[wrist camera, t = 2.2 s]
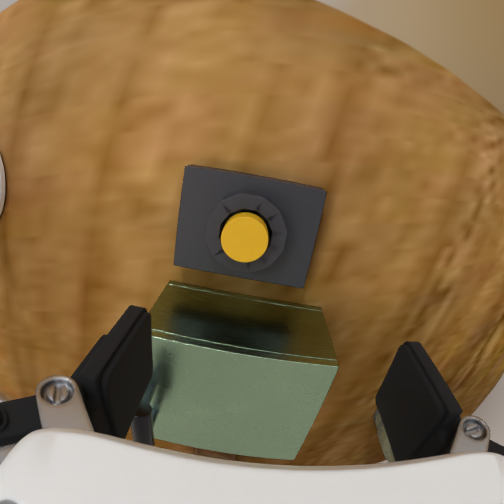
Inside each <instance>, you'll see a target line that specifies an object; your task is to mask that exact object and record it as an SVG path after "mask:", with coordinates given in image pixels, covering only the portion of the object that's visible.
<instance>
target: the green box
mask: <svg viewBox="0 0 504 504" xmlns="http://www.w3.org/2000/svg"><path fill="white" fill-rule="evenodd" d="M149 313H150V314H151V329H152V330H154V331H159V332H163V333H167V334H172V335H176V336H181V337H186V338H190V339H195V340H200V341H205V342H210V343H216V344H221V345H227V346H232V347H238V348H244V349H250V350H256V351H263V352H269V353H276V354H283V355H291V356H298V357H307V358H315V359H324V360H334V361H337V358H336V355H335V352H334V348H333V345H332V342H331V338H330V335H329V332H328V329H327V326H326V322H325V319H324V316H323V313H322V310H321V307H316V306H310V305H303V304H297V303H291V302H284V301H278V300H272V299H266V298H261V297H255V296H249V295H243V294H238V293H232V292H227V291H221V290H216V289H211V288H205V287H200V286H195V285H190V284H185V283H180V282H175V281H169V282H168V284H167V286H166V287H165V289H164V290H163V292H162V293H161V295H160V296H159V298H158V299H157V301H156V302H155V304H154V305H153V307H152V308H151V310H150V312H149Z"/></svg>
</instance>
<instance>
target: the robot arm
mask: <svg viewBox="0 0 504 504" xmlns="http://www.w3.org/2000/svg"><path fill="white" fill-rule="evenodd" d="M5 186H6V184H5V172H4V166H3V162H2V159H1V156H0V215H1V212H2V209H3V205H4V199H5ZM152 375H153V355H152V329H151V314H150V313H147V310H146V308H142V307H138V306H133V305H130V306H129V307H128V309H127V310H126V311H125V313H124V314H123V315H122V316H121V318H120V319H119V320H118V322H117V323H116V324H115V325H114V327H113V328H112V329H111V331H110V332H109V333H108V335H103V336H102V337H101V338H100V339H99V340H98V342H97V343H96V344H95V345H94V347H93V348H92V349H91V351H90V352H89V353H88V355H87V356H86V357H85V359H84V360H83V361H82V363H81V364H80V365H79V367H78V368H77V369H76V371H75V372H74V373H73V375H72V376H71V378H69V377H67V376H63V375H53V376H50V377H47V378H45V379H43V380H42V381H41V382H40V383H39V384H38V386H37V388H36V395H35V396H30V397H26V398H21V399H16V400H11V401H6V402H1V403H0V504H504V446H501V445H499V444H497V443H495V442H493V441H491V440H490V429H489V427H488V425H487V424H486V423H485V422H484V421H483V420H482V419H480V418H479V417H476V416H471V415H468V416H465V417H463V418H462V419H461V418H460V414H461V413H462V409H461V407H460V405H459V404H458V402H457V400H456V399H455V397H454V395H453V394H452V392H451V390H450V389H449V387H448V386H447V384H446V382H445V381H444V379H443V377H442V376H441V374H440V373H439V371H438V370H437V368H436V366H435V365H434V363H433V362H432V360H431V359H430V357H429V356H428V354H427V353H426V351H425V349H424V348H423V346H422V345H421V344H420V343H419V342H409V341H406V342H405V343H404V344H403V345H401V346H400V347H399V348H398V351H397V353H396V355H395V357H394V360H393V362H392V364H391V366H390V368H389V370H388V373H387V375H386V377H385V379H384V381H383V383H382V385H381V387H380V389H379V391H378V393H377V395H376V405H377V408H378V411H379V414H380V416H381V419H382V422H383V425H384V428H385V431H386V434H387V437H388V440H389V443H390V446H391V449H392V453H393V456H394V459H395V462H389V463H378V464H365V465H346V466H292V465H273V464H260V463H249V462H240V461H232V460H224V459H217V458H211V457H205V456H199V455H193V454H188V453H183V452H178V451H173V450H168V449H163V448H159V447H155V446H150V445H146V444H142V443H138V442H134V441H131V440H126V439H125V437H126V435H127V432H128V430H129V428H130V425H131V423H132V421H133V419H134V416H135V414H136V412H137V409H138V407H139V405H140V403H141V400H142V398H143V396H144V394H145V392H146V389H147V387H148V385H149V383H150V381H151V378H152Z"/></svg>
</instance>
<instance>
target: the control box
mask: <svg viewBox="0 0 504 504" xmlns="http://www.w3.org/2000/svg"><path fill="white" fill-rule="evenodd" d="M326 193H327V191H325V190H324V189H322V188H319V187H314V186H310V185H305V184H300V183H295V182H290V181H285V180H280V179H275V178H270V177H265V176H259V175H254V174H248V173H242V172H236V171H230V170H224V169H218V168H211V167H205V166H198V165H188V166H185V171H184V178H183V186H182V193H181V201H180V209H179V218H178V226H177V236H176V246H175V256H174V265H176V266H181V267H186V268H192V269H197V270H202V271H208V272H213V273H218V274H224V275H229V276H235V277H240V278H246V279H251V280H257V281H263V282H269V283H274V284H280V285H286V286H292V287H298V288H304V284H305V280H306V276H307V272H308V269H309V265H310V261H311V257H312V253H313V249H314V245H315V241H316V237H317V232H318V228H319V224H320V220H321V215H322V211H323V207H324V202H325V198H326ZM241 212H250V213H253V214H256V215H258V216H259V217H260V218H261V219H262V220H263V221H264V222H265V224H266V226H267V229H268V246H267V249H266V251H265V252H264V254H263V255H262V256H261V257H260V258H258V259H256V260H254V261H251V262H239V261H236V260H234V259H232V258H230V257H229V256H228V255H227V254H226V253H225V251H224V250H223V248H222V245H221V234H222V231H223V228H224V226H225V224H226V223H227V221H228V220H229V219H230V218H231V217H232V216H234V215H235V214H238V213H241Z"/></svg>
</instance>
